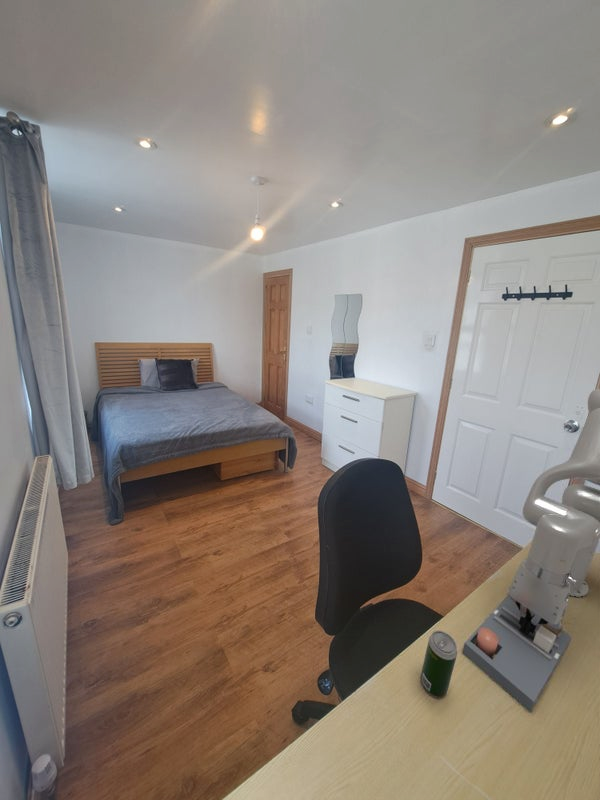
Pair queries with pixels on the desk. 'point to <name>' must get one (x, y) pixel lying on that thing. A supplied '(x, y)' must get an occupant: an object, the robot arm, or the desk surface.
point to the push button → (487, 641)
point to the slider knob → (544, 639)
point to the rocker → (552, 629)
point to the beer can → (438, 663)
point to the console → (516, 655)
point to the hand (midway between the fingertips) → (525, 630)
